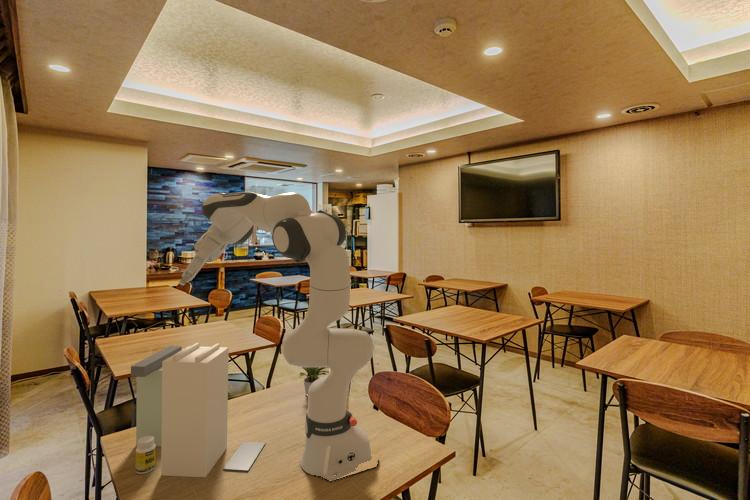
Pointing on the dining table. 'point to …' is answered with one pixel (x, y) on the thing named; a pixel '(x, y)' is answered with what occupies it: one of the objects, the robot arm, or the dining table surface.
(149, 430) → the pale green block
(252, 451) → the plate
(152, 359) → the bar
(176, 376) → the outlet wall
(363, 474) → the dining table surface
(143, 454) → the supplement bottle
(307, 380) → the house plant
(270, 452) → the dining table surface
